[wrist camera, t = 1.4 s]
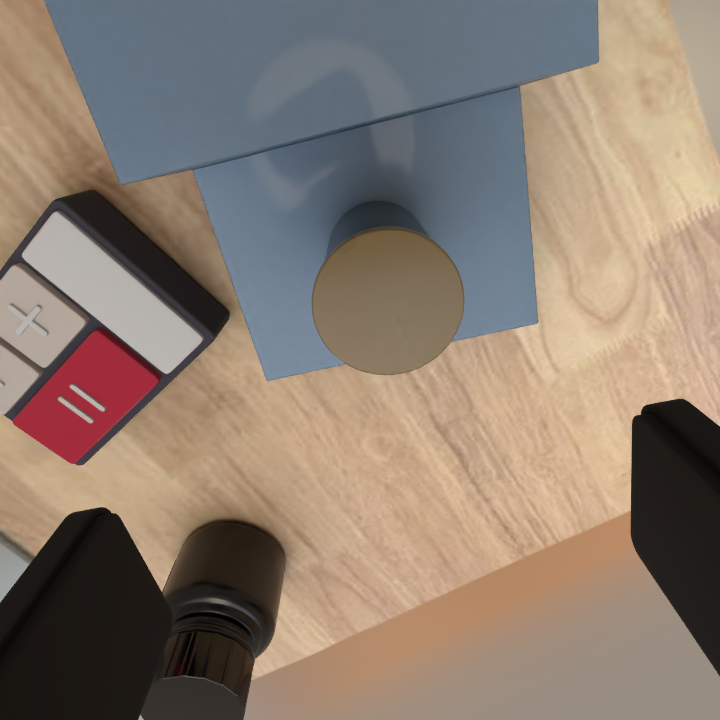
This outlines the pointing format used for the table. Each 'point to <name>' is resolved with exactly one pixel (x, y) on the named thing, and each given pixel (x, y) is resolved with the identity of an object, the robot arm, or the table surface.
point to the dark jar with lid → (386, 292)
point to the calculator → (93, 326)
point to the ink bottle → (216, 623)
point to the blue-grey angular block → (332, 132)
